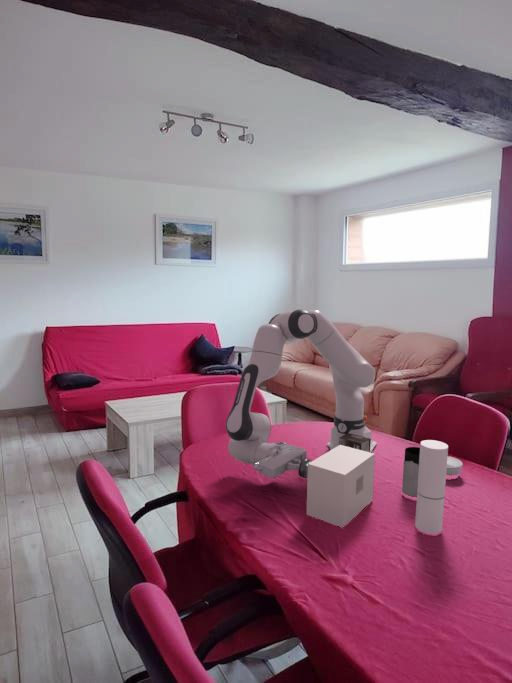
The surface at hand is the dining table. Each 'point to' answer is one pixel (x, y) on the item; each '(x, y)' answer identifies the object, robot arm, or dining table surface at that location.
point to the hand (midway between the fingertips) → (303, 467)
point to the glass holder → (411, 471)
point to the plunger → (304, 468)
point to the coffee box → (355, 442)
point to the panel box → (340, 484)
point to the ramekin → (453, 466)
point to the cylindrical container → (431, 486)
